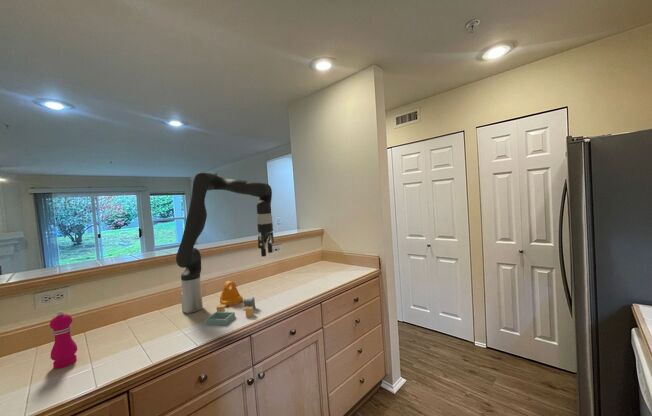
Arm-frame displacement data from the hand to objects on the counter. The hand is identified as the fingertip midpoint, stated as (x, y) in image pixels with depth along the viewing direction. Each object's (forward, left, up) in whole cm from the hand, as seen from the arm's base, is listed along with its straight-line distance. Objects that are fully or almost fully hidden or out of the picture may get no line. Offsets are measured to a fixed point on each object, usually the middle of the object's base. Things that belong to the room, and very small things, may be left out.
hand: (267, 254), depth 136 cm
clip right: (-9, -6, -29) cm, 31 cm away
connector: (-13, +2, -29) cm, 32 cm away
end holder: (-21, -12, -29) cm, 38 cm away
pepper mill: (-62, -49, -29) cm, 84 cm away
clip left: (-26, -4, -29) cm, 39 cm away
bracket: (-28, +10, -29) cm, 42 cm away
